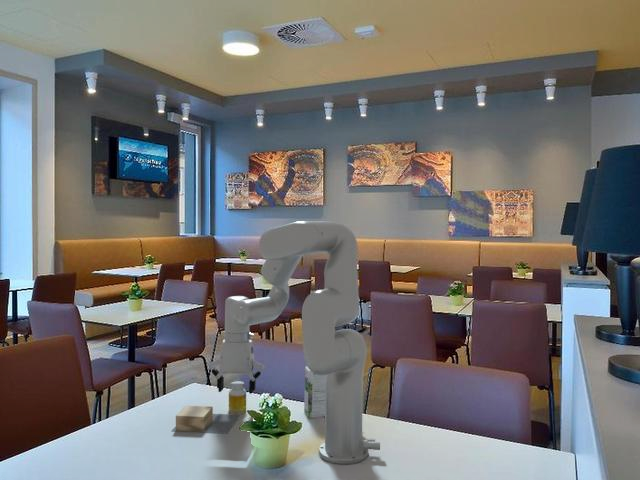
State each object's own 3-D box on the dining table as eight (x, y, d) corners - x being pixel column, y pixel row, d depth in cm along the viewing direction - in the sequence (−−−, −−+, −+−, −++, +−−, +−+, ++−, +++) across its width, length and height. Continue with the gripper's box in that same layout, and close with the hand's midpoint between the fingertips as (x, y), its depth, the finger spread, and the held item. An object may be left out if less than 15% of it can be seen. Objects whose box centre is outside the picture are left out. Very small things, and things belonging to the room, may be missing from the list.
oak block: (212, 420, 148) (212, 406, 148) (203, 431, 140) (203, 416, 140) (186, 419, 148) (186, 405, 148) (175, 430, 141) (175, 415, 140)
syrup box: (303, 412, 158) (303, 366, 157) (321, 410, 159) (321, 364, 159) (308, 418, 152) (308, 371, 152) (327, 416, 154) (327, 369, 154)
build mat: (240, 418, 152) (240, 414, 152) (227, 438, 138) (227, 433, 138) (188, 416, 154) (188, 412, 154) (170, 435, 140) (170, 431, 140)
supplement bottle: (228, 411, 158) (228, 380, 158) (245, 410, 159) (245, 379, 159) (229, 417, 153) (229, 386, 153) (246, 416, 154) (246, 385, 154)
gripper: (267, 335, 159) (266, 389, 159) (213, 332, 160) (212, 386, 161) (262, 340, 151) (261, 397, 152) (205, 338, 153) (205, 394, 154)
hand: (236, 391), depth 156 cm, fingers open, 9 cm apart
